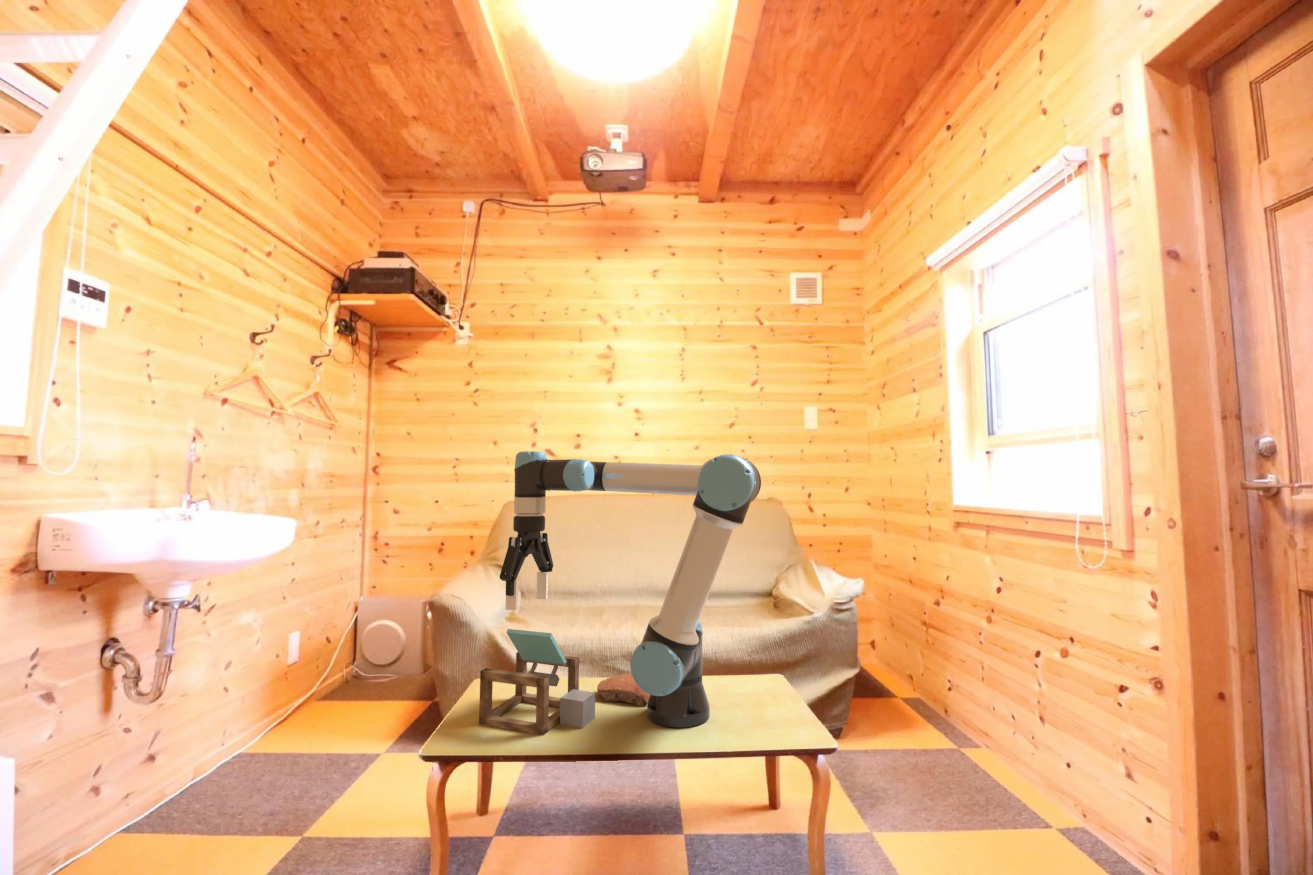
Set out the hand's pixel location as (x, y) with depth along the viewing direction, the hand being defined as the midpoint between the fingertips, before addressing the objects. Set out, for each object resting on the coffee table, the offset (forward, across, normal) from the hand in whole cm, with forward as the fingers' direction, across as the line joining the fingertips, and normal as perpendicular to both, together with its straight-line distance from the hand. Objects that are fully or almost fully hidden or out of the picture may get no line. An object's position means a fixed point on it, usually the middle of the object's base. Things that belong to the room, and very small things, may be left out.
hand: (527, 603), depth 136 cm
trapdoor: (+16, -3, 0) cm, 16 cm away
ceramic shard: (+27, -23, +17) cm, 39 cm away
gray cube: (+27, -3, +12) cm, 30 cm away
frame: (+27, -2, 0) cm, 27 cm away
